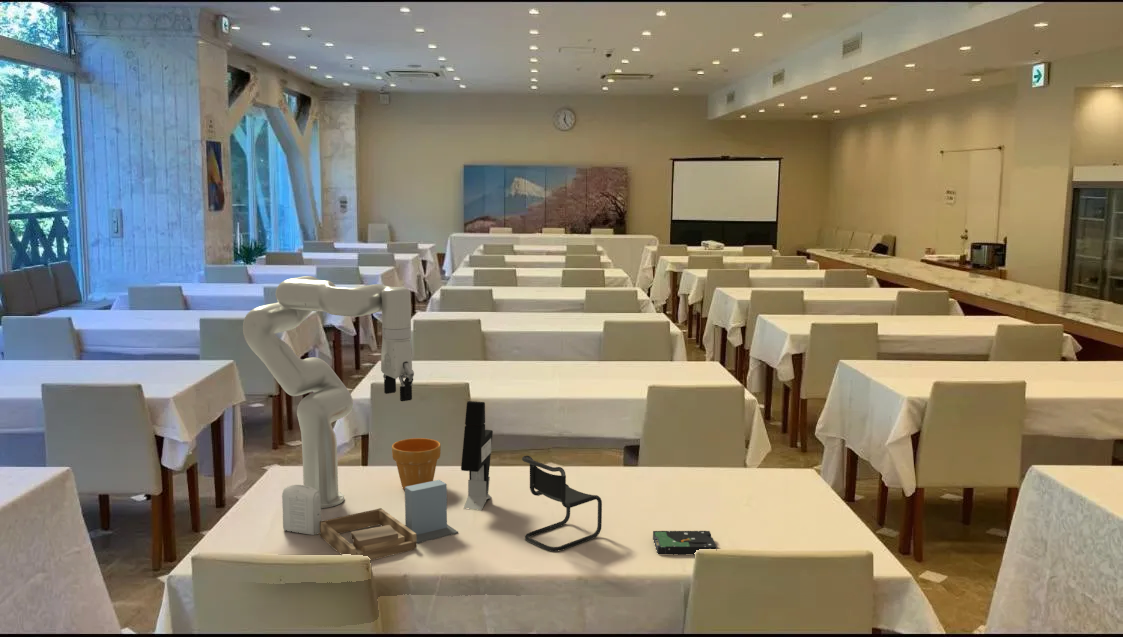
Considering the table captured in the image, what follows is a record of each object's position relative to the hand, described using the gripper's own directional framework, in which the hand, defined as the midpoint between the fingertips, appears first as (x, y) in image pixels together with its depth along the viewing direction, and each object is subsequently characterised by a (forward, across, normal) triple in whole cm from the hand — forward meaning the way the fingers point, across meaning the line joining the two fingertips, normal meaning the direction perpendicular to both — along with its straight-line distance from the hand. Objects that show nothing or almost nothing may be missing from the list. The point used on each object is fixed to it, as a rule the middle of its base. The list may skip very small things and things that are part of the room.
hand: (398, 396), depth 249 cm
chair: (+34, +37, +28) cm, 57 cm away
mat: (+33, +14, +1) cm, 36 cm away
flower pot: (+34, -18, +14) cm, 41 cm away
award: (+34, +4, +22) cm, 40 cm away
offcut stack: (+33, +18, -15) cm, 41 cm away
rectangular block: (+33, +14, +1) cm, 36 cm away
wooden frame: (+33, +12, -15) cm, 39 cm away
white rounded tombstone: (+34, -4, -26) cm, 43 cm away
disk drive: (+34, +59, +50) cm, 85 cm away
